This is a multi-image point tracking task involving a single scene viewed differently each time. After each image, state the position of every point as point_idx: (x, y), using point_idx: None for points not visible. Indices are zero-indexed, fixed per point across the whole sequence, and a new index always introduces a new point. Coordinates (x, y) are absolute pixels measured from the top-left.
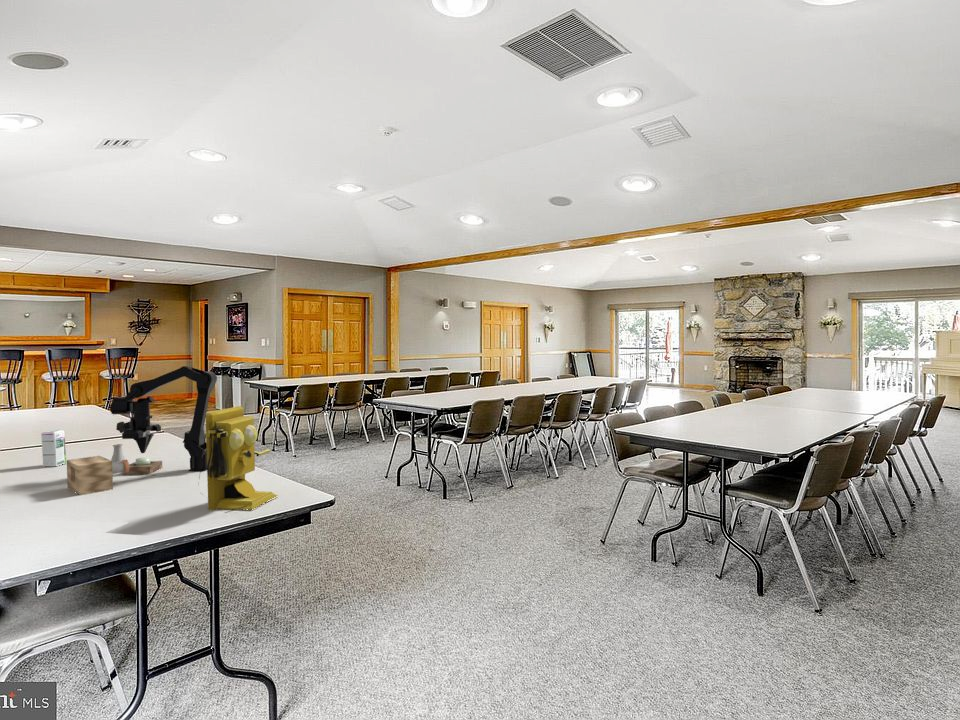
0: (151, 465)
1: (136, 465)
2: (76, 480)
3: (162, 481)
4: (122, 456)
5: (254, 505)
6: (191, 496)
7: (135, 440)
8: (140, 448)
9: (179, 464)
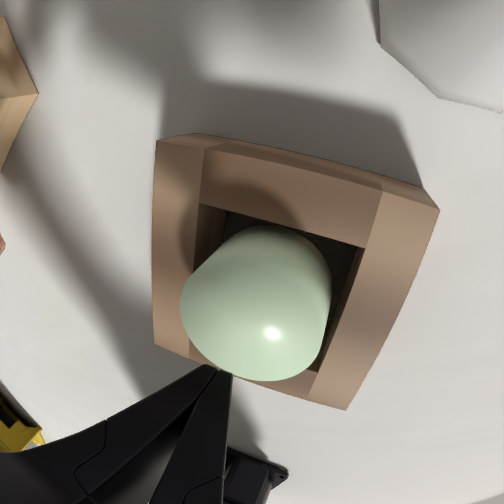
0: (181, 353)
1: (222, 244)
2: None
3: (68, 350)
4: (495, 35)
5: (6, 411)
6: (9, 374)
7: (6, 453)
8: (151, 405)
9: (420, 428)
